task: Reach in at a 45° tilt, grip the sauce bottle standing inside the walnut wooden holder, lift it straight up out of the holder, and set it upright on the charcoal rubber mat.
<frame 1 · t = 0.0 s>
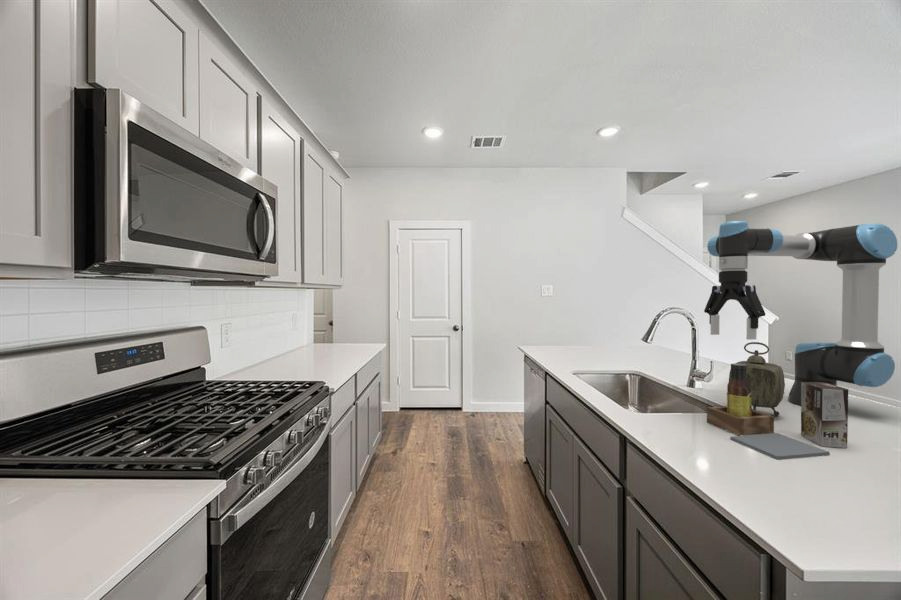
hand: (732, 337, 128), 28 cm above the worktop, tool pointing down, fingers open, 13 cm apart
coffee box: (823, 442, 113), on the worktop
rubber mat: (777, 446, 110), on the worktop
bottle holder: (739, 427, 125), on the worktop
tabletop clock: (755, 415, 138), on the worktop
sauce bottle: (739, 428, 125), resting in bottle holder
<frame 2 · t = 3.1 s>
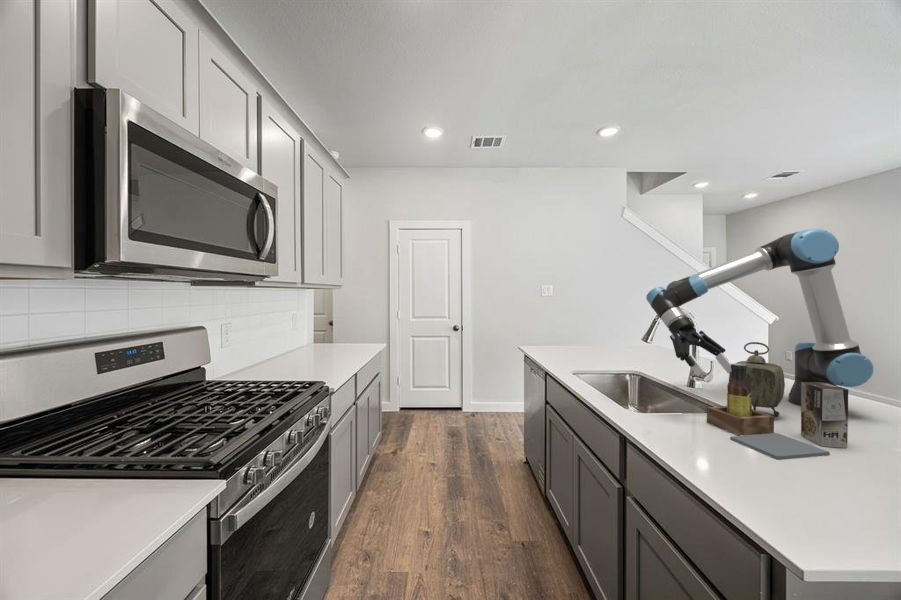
hand: (716, 372, 131), 16 cm above the worktop, tool tilted 45°, fingers open, 13 cm apart
nothing on the worktop moved.
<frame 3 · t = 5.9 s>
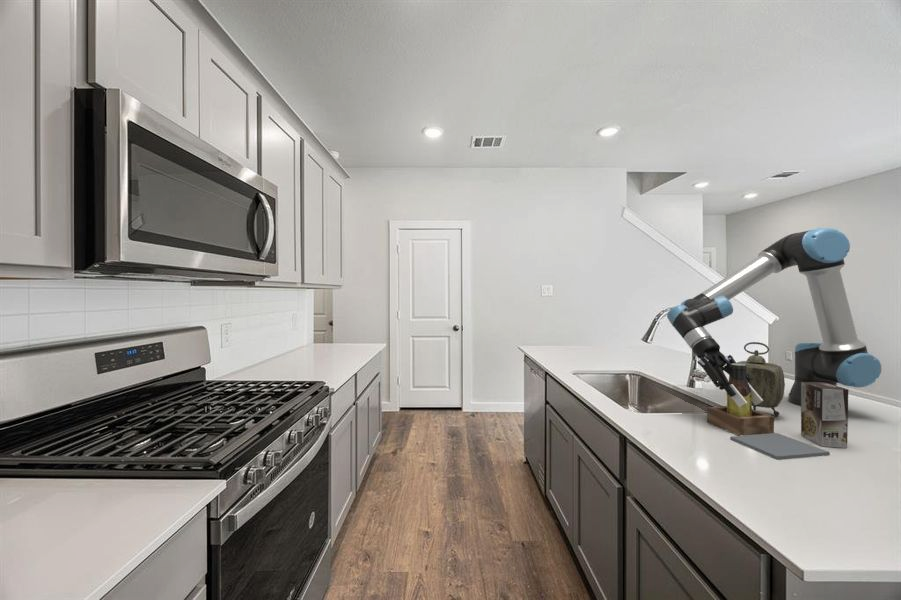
hand: (751, 403, 121), 8 cm above the worktop, tool tilted 45°, fingers closed on sauce bottle, 6 cm apart
sauce bottle: (738, 428, 125), resting in bottle holder, touching gripper
everything else where it was.
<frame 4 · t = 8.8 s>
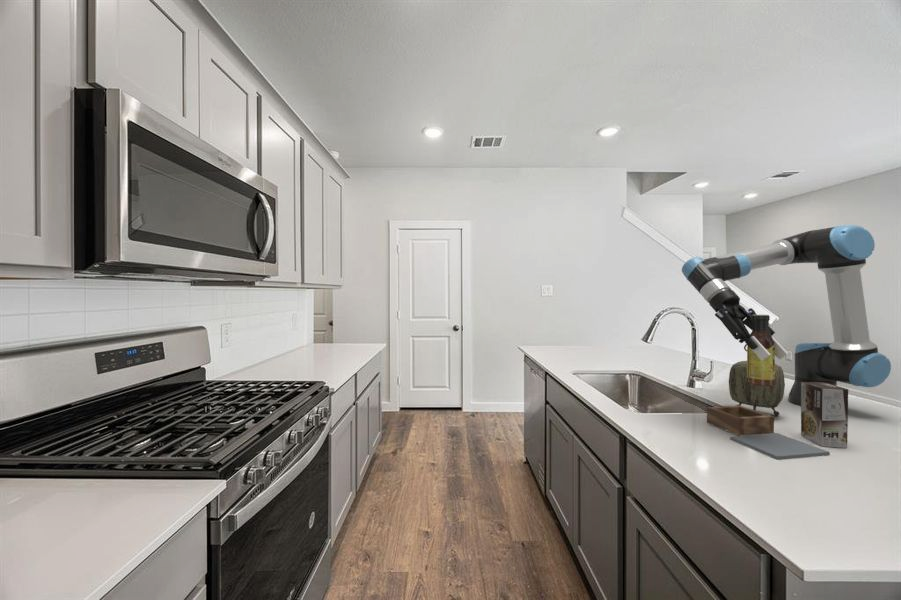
hand: (774, 357, 110), 25 cm above the worktop, tool tilted 45°, fingers closed on sauce bottle, 6 cm apart
sauce bottle: (760, 384, 114), point 16 cm above the worktop, touching gripper
everything else where it was.
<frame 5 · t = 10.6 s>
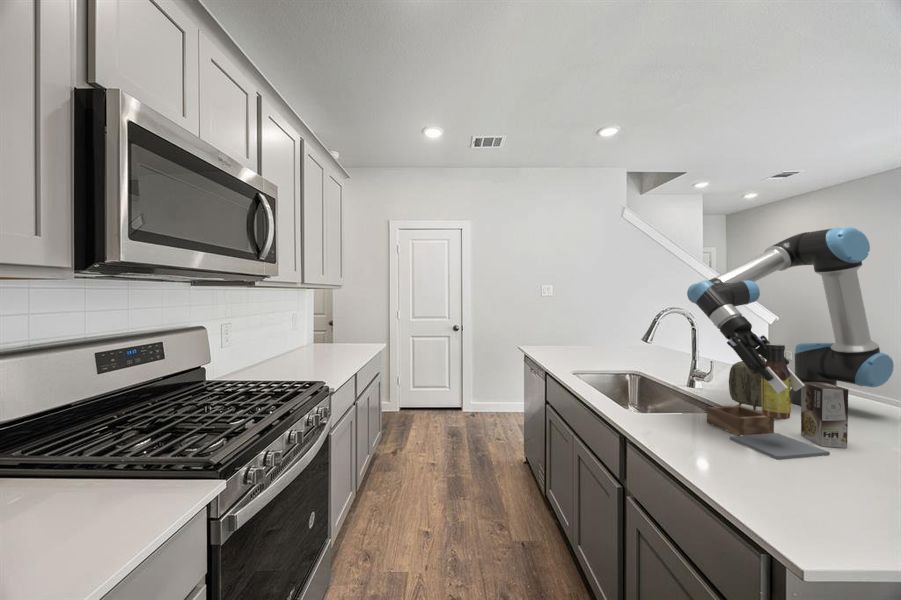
hand: (791, 389, 106), 17 cm above the worktop, tool tilted 45°, fingers closed on sauce bottle, 6 cm apart
sauce bottle: (775, 417, 109), point 8 cm above the worktop, touching gripper
everything else where it was.
when the fingers open (10 cm above the worktop, at t = 12.1 s): sauce bottle stays where it is, resting on rubber mat.
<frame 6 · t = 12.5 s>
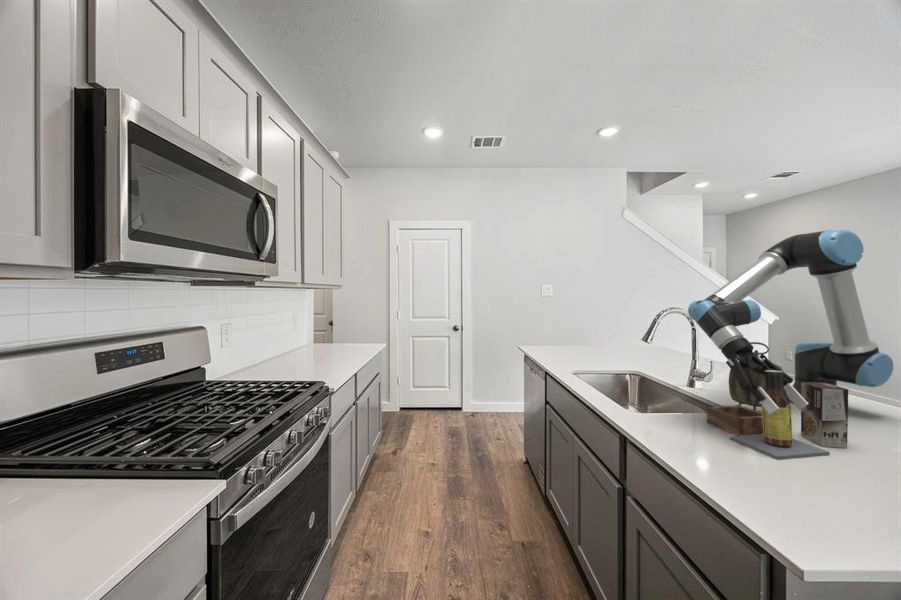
hand: (789, 408, 107), 11 cm above the worktop, tool tilted 45°, fingers open, 11 cm apart
sauce bottle: (777, 444, 110), point 1 cm above the worktop, touching rubber mat
everything else where it was.
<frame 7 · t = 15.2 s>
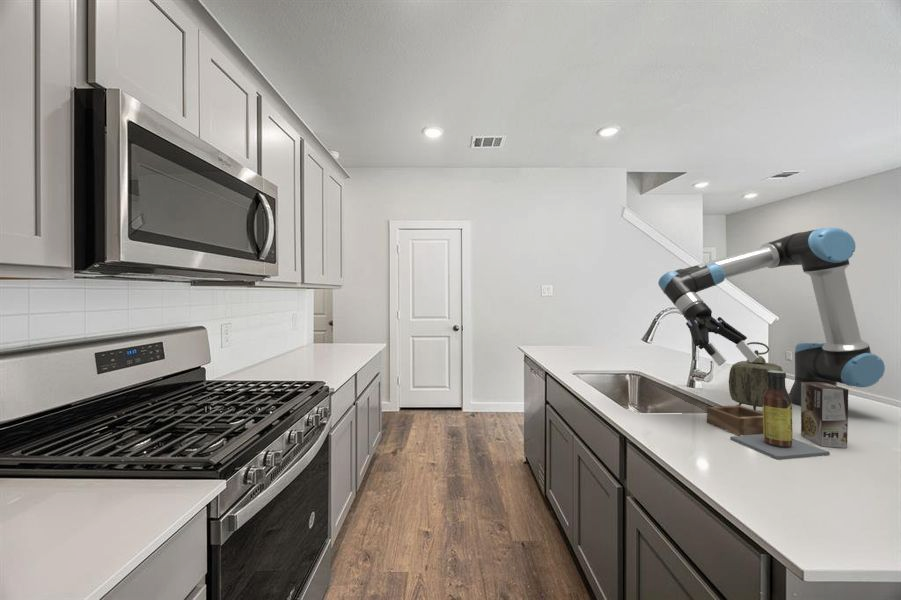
hand: (739, 361, 119), 22 cm above the worktop, tool tilted 45°, fingers open, 13 cm apart
nothing on the worktop moved.
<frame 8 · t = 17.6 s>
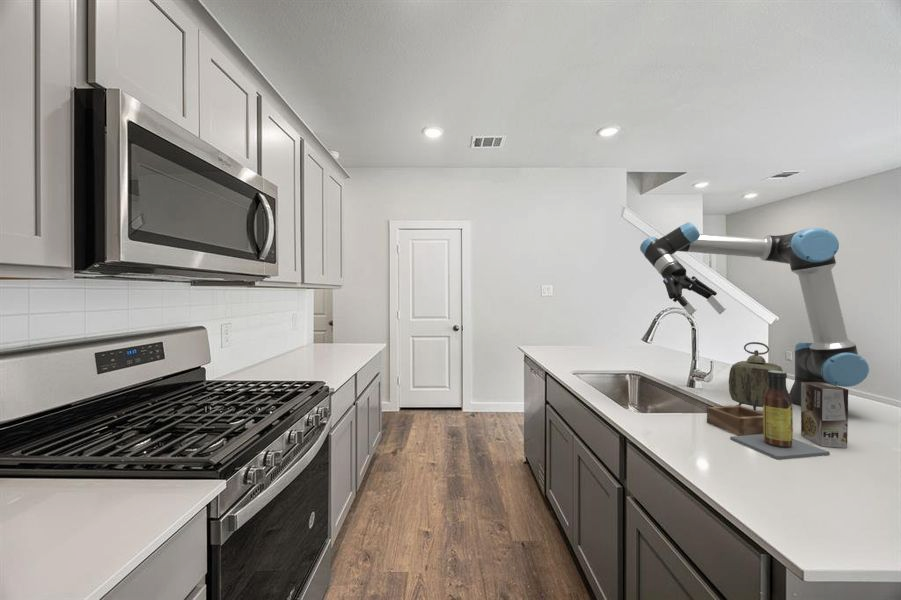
hand: (708, 312, 134), 36 cm above the worktop, tool tilted 45°, fingers open, 13 cm apart
nothing on the worktop moved.
at the end: sauce bottle inside the target area on the rubber mat (0.1 cm from its centre), point 0.6 cm above the rubber mat's base; sauce bottle tilted 1°; the gripper is holding nothing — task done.
